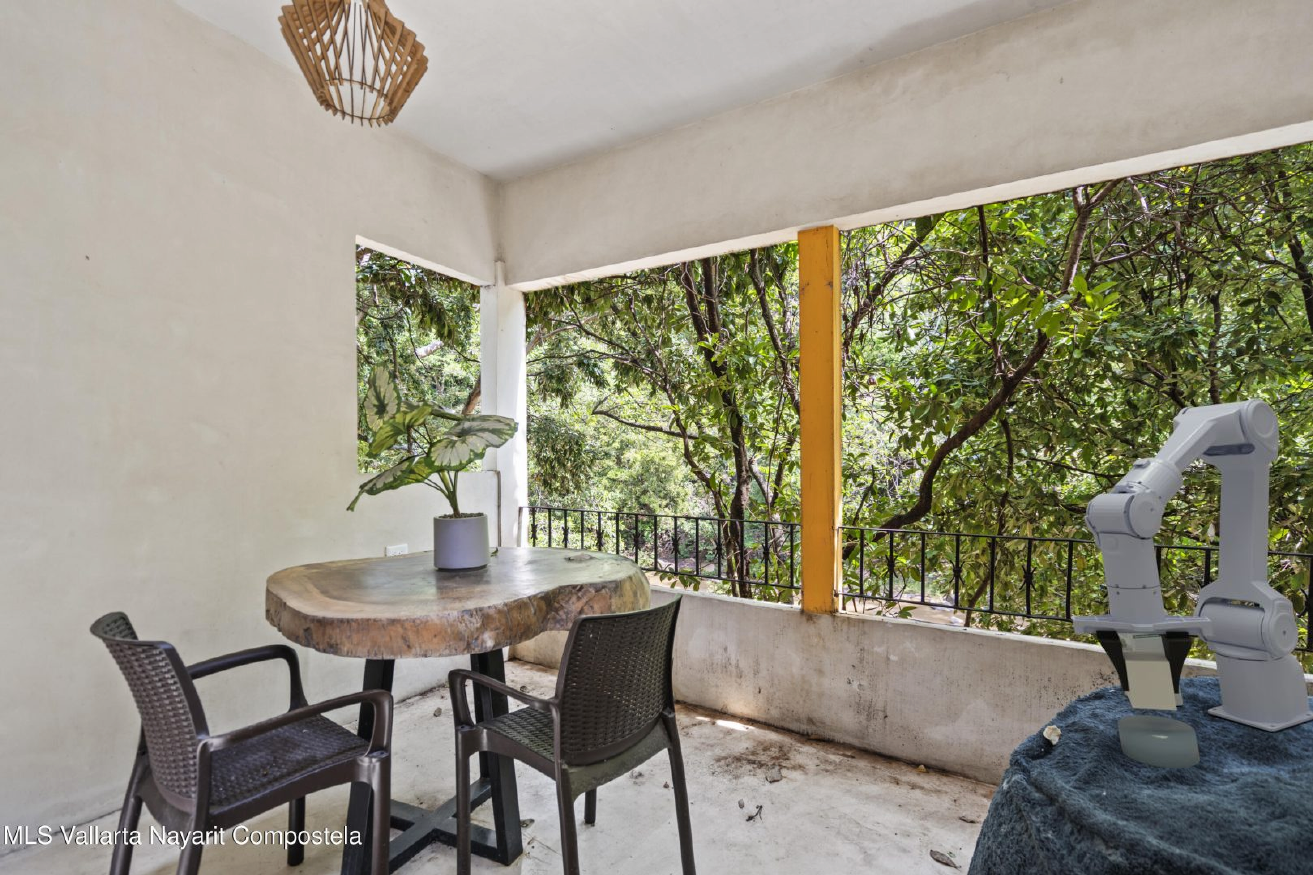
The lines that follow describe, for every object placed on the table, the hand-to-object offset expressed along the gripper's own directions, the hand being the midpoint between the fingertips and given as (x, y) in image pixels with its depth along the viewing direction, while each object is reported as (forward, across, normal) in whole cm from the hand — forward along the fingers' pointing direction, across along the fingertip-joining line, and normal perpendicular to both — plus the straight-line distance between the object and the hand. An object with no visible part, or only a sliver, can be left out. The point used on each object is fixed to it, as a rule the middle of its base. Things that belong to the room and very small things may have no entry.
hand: (1149, 689), depth 84 cm
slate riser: (+8, 0, 0) cm, 8 cm away
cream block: (+2, 0, 0) cm, 2 cm away
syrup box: (+8, +2, +19) cm, 21 cm away
